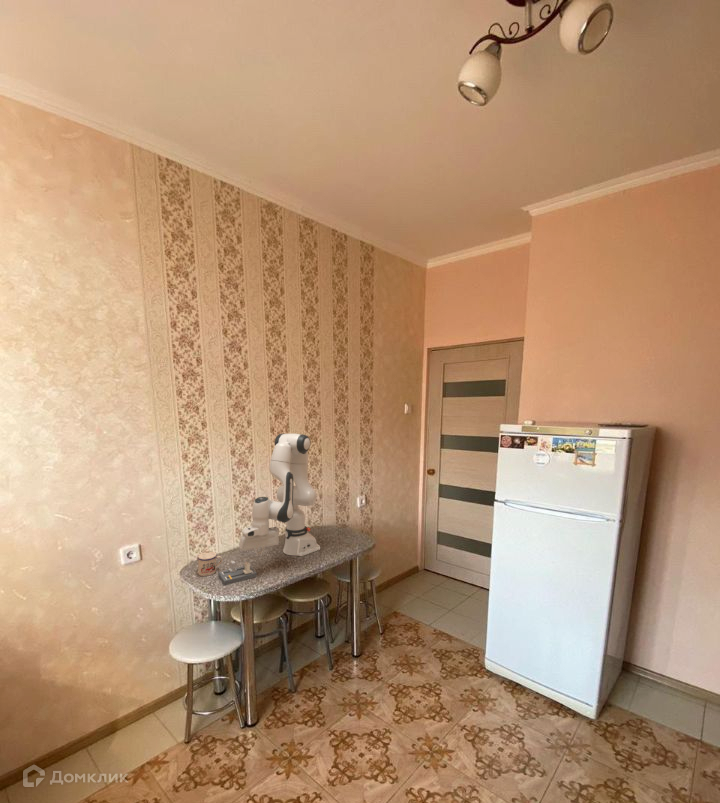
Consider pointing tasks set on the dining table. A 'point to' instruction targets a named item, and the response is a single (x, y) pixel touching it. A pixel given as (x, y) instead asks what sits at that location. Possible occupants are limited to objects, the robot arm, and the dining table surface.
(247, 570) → the cap
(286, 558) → the dining table surface
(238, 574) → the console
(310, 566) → the dining table surface
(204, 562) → the teacup with lid
